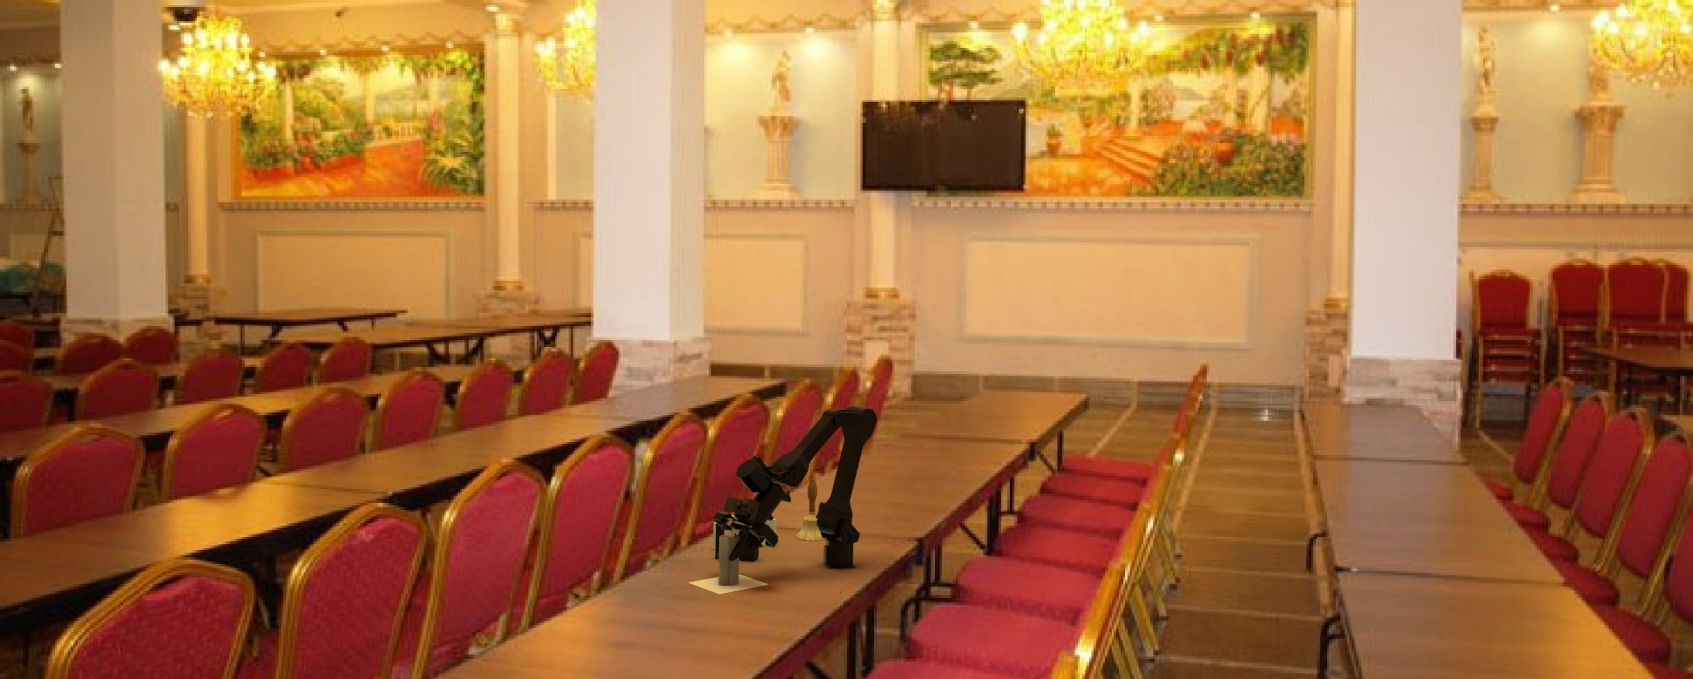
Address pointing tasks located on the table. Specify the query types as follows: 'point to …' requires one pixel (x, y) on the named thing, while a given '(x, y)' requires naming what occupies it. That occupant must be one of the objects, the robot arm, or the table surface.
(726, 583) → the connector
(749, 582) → the mat
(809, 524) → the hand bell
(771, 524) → the l-shaped corner panel
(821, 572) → the table surface
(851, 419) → the robot arm
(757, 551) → the electronic device
